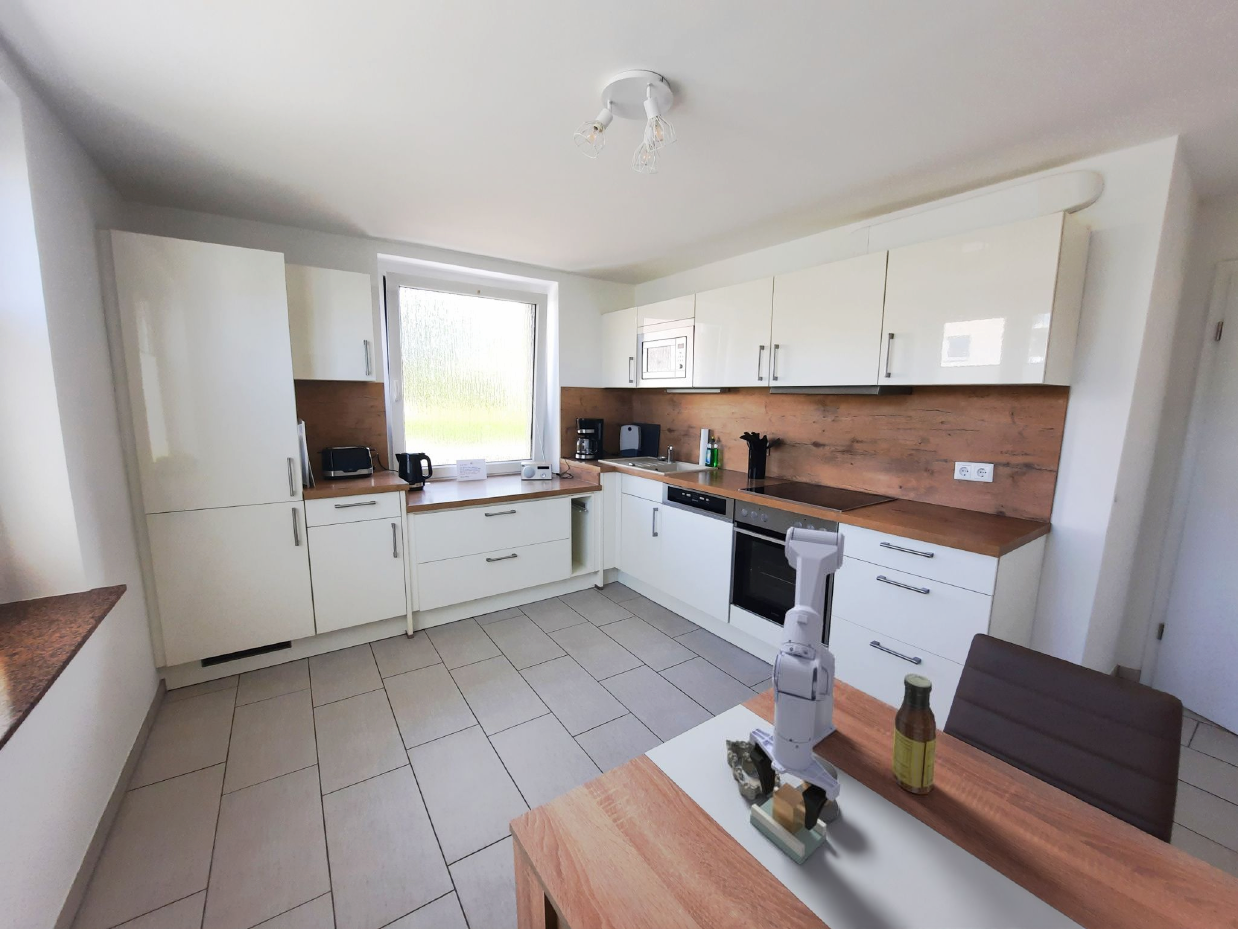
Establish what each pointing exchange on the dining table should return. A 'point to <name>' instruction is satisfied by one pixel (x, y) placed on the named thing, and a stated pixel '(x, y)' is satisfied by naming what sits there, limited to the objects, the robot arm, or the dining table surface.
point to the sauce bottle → (915, 737)
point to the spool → (830, 807)
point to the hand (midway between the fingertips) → (788, 808)
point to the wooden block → (789, 808)
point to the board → (792, 845)
